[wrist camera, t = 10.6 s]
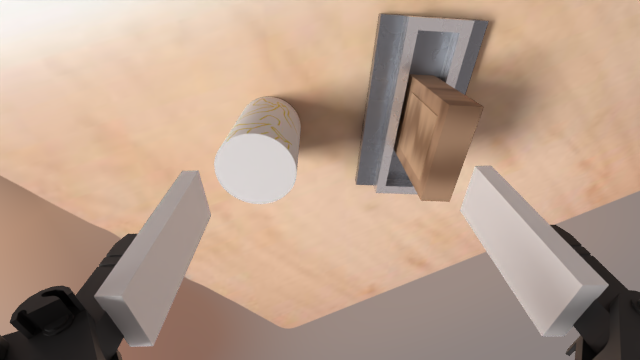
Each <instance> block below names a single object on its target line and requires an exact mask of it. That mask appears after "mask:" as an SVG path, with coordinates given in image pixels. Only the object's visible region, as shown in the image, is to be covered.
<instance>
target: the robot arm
mask: <svg viewBox="0 0 640 360" xmlns="http://www.w3.org/2000/svg"><path fill="white" fill-rule="evenodd" d="M460 211H461V213H462V214H463V216H464V217H465V219H466V220H467V222H468V224H469V225H470V227H471V228H472V230H473V231H474V233H475V234H476V236H477V237H478V239H479V240H480V242H481V243H482V245H483V246H484V248H485V250H486V251H487V253H488V254H489V256H490V257H491V259H492V260H493V262H494V263H495V265H496V266H497V268H498V269H499V271H500V272H501V274H502V276H503V277H504V279H505V280H506V282H507V283H508V285H509V286H510V288H511V289H512V291H513V292H514V294H515V295H516V297H517V298H518V300H519V302H520V303H521V305H522V306H523V308H524V309H525V311H526V312H527V314H528V315H529V317H530V318H531V320H532V321H533V323H534V325H535V326H536V328H537V329H538V331H539V332H540V334H541V335H542V336H565V335H566V334H567V333H568V331H569V330H570V329H571V328H572V327H573V326H574V327H575V328H576V330H577V331H578V332H579V333H580V337H579V338H578V339H577V340H576V341H575V342H574V343H573V344H572V345H571V346H570V347H569V348H568V350H567V352H566V354H567V355H569V356H570V355H571V354H572V353H573V352H574V351H576V353H575V360H640V292H637V291H630V290H628V289H627V288H625V286H624V285H622V284H621V283H620V282H619V281H618V280H617V279H616V278H615V277H614V276H613V275H612V274H611V273H610V272H609V271H608V270H607V269H606V268H605V267H604V266H603V265H602V264H601V263H600V262H599V261H598V260H597V259H596V258H595V257H593V256H591V255H590V253H589V252H588V251H587V250H586V249H585V248H584V247H582V246H581V244H580V243H579V242H578V241H577V240H576V239H575V238H574V237H573V236H572V235H571V234H569V233H568V232H566V231H565V230H563V229H561V228H560V227H558V226H556V225H549V224H548V223H547V222H546V221H545V220H544V219H543V218H542V217H541V216H540V215H539V214H538V213H537V212H536V211H535V210H534V209H533V208H532V207H531V206H530V205H529V204H528V203H527V202H526V201H525V200H524V198H523V197H522V196H521V195H520V194H519V193H518V192H517V191H516V190H515V189H514V188H513V187H512V186H511V185H510V184H509V183H508V182H507V181H506V180H505V179H504V178H503V177H502V176H501V175H500V174H499V173H498V172H497V171H496V170H495V169H494V168H493V167H492V166H475V168H474V171H473V174H472V177H471V180H470V183H469V186H468V189H467V192H466V195H465V198H464V200H463V203H462V206H461V209H460ZM210 217H211V213H210V209H209V206H208V202H207V199H206V195H205V192H204V188H203V185H202V181H201V178H200V174H199V171H182V172H181V173H180V175H179V176H178V178H177V179H176V180H175V182H174V183H173V185H172V186H171V187H170V189H169V190H168V192H167V193H166V195H165V196H164V197H163V199H162V200H161V202H160V203H159V205H158V206H157V207H156V209H155V210H154V212H153V213H152V214H151V216H150V217H149V219H148V220H147V222H146V223H145V224H144V226H143V227H142V229H141V230H140V231H139V233H138V234H127V235H126V236H125V237H123V238H122V239H121V240H120V241H118V242H117V243H116V244H115V245H114V246H113V247H112V249H111V250H110V251H109V253H108V254H107V257H105V258H104V259H103V261H102V262H101V263H100V264H99V267H97V268H96V270H95V271H94V272H93V273H92V275H91V276H90V277H89V279H88V280H87V281H86V283H85V284H84V285H83V287H82V288H81V289H80V290H79V292H78V293H77V294H76V296H75V295H74V294H73V292H72V291H71V289H70V288H69V287H65V286H55V287H50V288H48V289H45V290H42V291H40V292H38V293H36V294H34V295H33V296H31V297H29V298H28V299H27V300H26V301H25V302H23V303H22V304H21V305H20V306H19V307H18V308H17V309H16V310H15V312H14V313H13V314H12V317H11V320H10V323H11V324H12V325H13V326H14V327H15V328H16V329H17V330H18V331H17V332H14V333H11V334H7V335H4V336H1V335H0V360H122V357H121V354H120V352H119V351H118V347H119V345H120V343H121V341H122V339H123V338H124V339H125V340H126V341H127V343H128V344H129V345H130V347H131V346H153V345H154V343H155V341H156V339H157V336H158V334H159V332H160V330H161V328H162V325H163V323H164V321H165V319H166V316H167V314H168V311H169V309H170V307H171V305H172V302H173V300H174V298H175V296H176V294H177V291H178V289H179V287H180V285H181V282H182V280H183V278H184V276H185V273H186V271H187V269H188V267H189V264H190V262H191V260H192V258H193V255H194V253H195V251H196V248H197V246H198V244H199V242H200V239H201V237H202V235H203V233H204V230H205V228H206V226H207V224H208V221H209V219H210Z"/></svg>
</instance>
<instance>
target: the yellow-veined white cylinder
mask: <svg viewBox="0 0 640 360" xmlns="http://www.w3.org/2000/svg"><path fill="white" fill-rule="evenodd" d="M300 132H301V123H300V119H299V116H298V114H297V112H296V111H295V110H294V108H293V107H292V106H291V105H290V104H288V103H287V102H285V101H284V100H282V99H279V98H276V97H261V98H257V99H255V100H253V101H252V102H250V103H249V104H248V105H247V106H246V107H245V109H244V110H243V112H242V113H241V115H240V117H239V118H238V120H237V121H236V123H235V125H234V126H233V128H232V129H231V131H230V133H229V134H228V136H227V137H226V139H225V141H224V142H223V144H222V145H221V147H220V149H219V150H218V152H217V154H216V157H215V163H214V167H215V173H216V176H217V179H218V181H219V182H220V184H221V185H222V187H223V188H224V189H225V190H226V191H227V192H228V193H230V194H231V195H232V196H234V197H235V198H237V199H239V200H242V201H245V202H248V203H253V204H266V203H271V202H274V201H277V200H279V199H281V198H282V197H284V196H285V195H286V194H287V193H288V192H289V191H290V190H291V189H292V187H293V185H294V183H295V180H296V174H297V164H298V153H299V143H300Z"/></svg>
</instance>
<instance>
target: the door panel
mask: <svg viewBox="0 0 640 360" xmlns="http://www.w3.org/2000/svg"><path fill="white" fill-rule="evenodd" d="M483 108H484V107H483V106H481V105H480V104H478V103H477V102H475V101H474V100H472V99H470V98H469V97H467V96H466V95H464V94H462V93H461V92H459V91H458V90H456V89H455V88H453V87H451V86H450V85H448V84H447V83H445V82H443V81H442V80H440V79H439V78H437V77H436V76H433V75H415V74H410V75H409V79H408V84H407V89H406V94H405V98H404V103H403V108H402V113H401V117H400V122H399V127H398V132H397V136H396V141H395V146H394V151H395V153H396V155H397V156H398V158H399V160H400V162H401V164H402V166H403V168H404V170H405V171H406V173H407V175H408V177H409V179H410V181H411V183H412V184H413V186H414V188H415V190H416V192H417V194H418V196H419V197H420V199H421V201H446V202H450V199H451V196H452V194H453V191H454V188H455V185H456V183H457V180H458V177H459V174H460V171H461V169H462V166H463V163H464V160H465V158H466V155H467V152H468V149H469V147H470V144H471V141H472V138H473V135H474V133H475V130H476V127H477V124H478V122H479V119H480V116H481V113H482V111H483Z"/></svg>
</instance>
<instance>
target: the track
mask: <svg viewBox="0 0 640 360" xmlns="http://www.w3.org/2000/svg"><path fill="white" fill-rule="evenodd" d="M487 25H488V21H484V20H470V19H454V18H439V17H423V16H408V15H393V14H379V17H378V24H377V31H376V38H375V45H374V52H373V59H372V66H371V73H370V80H369V87H368V94H367V101H366V108H365V115H364V123H363V130H362V137H361V144H360V151H359V158H358V165H357V172H356V179H355V181H356V185H373V186H374V189H375V192H376V193H396V194H417V192H416V190H415V188H414V186H413V184H412V183H411V181H410V179H409V177H408V175H407V173H406V171H405V170H404V168H403V166H402V164H401V162H400V160H399V158H398V156H397V155H396V153H395V151H394V146H395V141H396V136H397V132H398V127H399V122H400V117H401V113H402V108H403V103H404V98H405V94H406V89H407V84H408V79H409V75H410V74H415V75H433V76H436V77H437V78H439V79H440V80H442V81H443V82H445V83H447V84H448V85H450V86H451V87H453V88H455V89H456V90H458V91H459V92H461V93H462V94H464V95H465V94H466V90H467V87H468V84H469V81H470V78H471V75H472V72H473V68H474V65H475V62H476V59H477V56H478V53H479V50H480V47H481V43H482V40H483V37H484V34H485V31H486V28H487Z"/></svg>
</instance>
